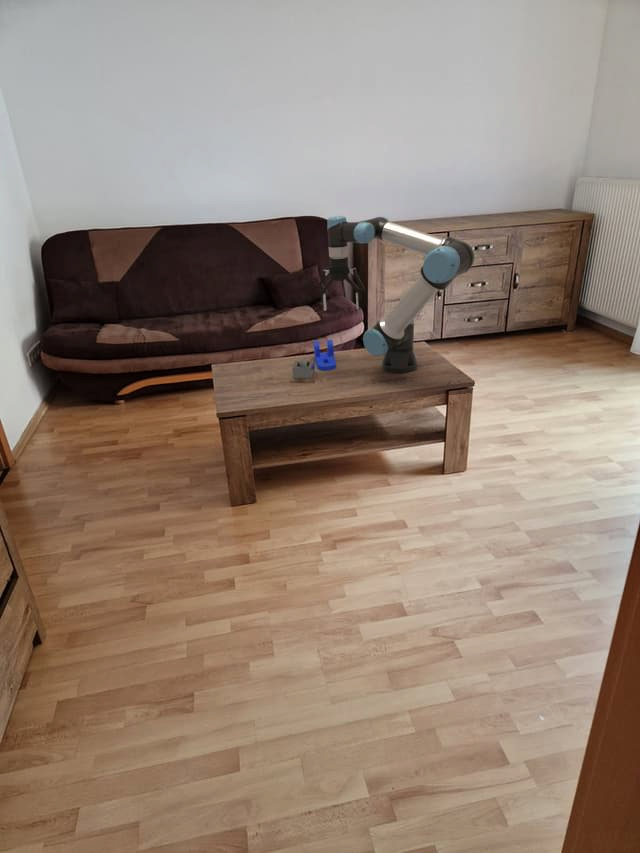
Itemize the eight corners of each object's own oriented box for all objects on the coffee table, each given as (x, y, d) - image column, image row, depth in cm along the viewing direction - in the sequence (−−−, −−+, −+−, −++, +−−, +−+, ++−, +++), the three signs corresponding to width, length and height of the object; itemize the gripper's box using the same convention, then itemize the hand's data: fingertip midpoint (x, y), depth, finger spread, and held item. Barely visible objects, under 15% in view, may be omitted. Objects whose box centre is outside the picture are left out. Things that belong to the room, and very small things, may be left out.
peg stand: (317, 373, 245) (316, 355, 241) (314, 382, 236) (312, 364, 232) (294, 373, 246) (293, 355, 242) (290, 382, 237) (289, 364, 234)
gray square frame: (314, 371, 243) (314, 360, 241) (312, 378, 236) (311, 367, 234) (296, 371, 245) (295, 361, 242) (293, 378, 237) (292, 367, 235)
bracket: (314, 357, 263) (313, 339, 259) (332, 356, 264) (331, 337, 260) (318, 371, 247) (317, 352, 243) (337, 370, 248) (336, 350, 244)
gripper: (369, 253, 230) (371, 305, 239) (309, 257, 233) (312, 308, 242) (369, 257, 223) (371, 310, 233) (306, 260, 226) (310, 312, 236)
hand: (341, 309), depth 237 cm, fingers open, 13 cm apart
